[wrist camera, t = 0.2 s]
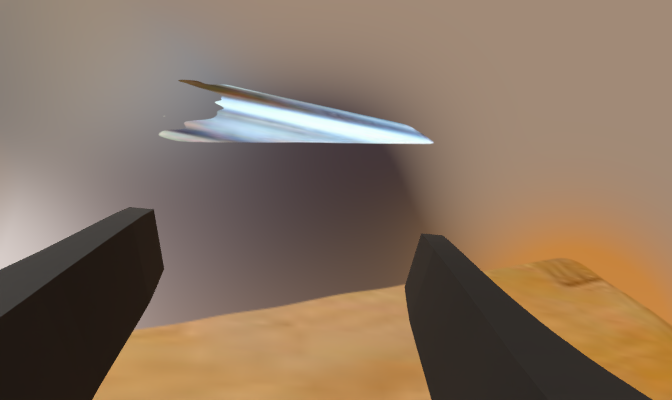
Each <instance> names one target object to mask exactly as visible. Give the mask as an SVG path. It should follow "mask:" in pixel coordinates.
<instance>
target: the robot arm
mask: <svg viewBox="0 0 672 400" xmlns="http://www.w3.org/2000/svg"><path fill="white" fill-rule="evenodd" d="M163 270H164V266H163V260H162V254H161V249H160V243H159V237H158V231H157V226H156V220H155V214H154V210H153V209H143V208H132V207H129V208H127V209H124V210H122V211H120V212H117V213H115V214H113V215H111V216H109V217H107V218H105V219H103V220H101V221H99V222H97V223H95V224H93V225H91V226H89V227H87V228H85V229H83V230H81V231H80V232H77V233H75V234H74V235H71V236H69V237H67V238H65V239H63V240H61V241H59V242H57V243H55V244H53V245H51V246H50V247H48V248H46V249H44V250H41V251H40V252H37V253H35V254H33V255H31V256H29V257H27V258H25V259H22V260H20V261H18V262H16V263H14V264H12V265H9V266H7V267H5V268H3V269H1V270H0V400H92V399H93V397H94V395H95V394H96V392H97V390H98V388H99V386H100V385H101V383H102V381H103V380H104V378H105V376H106V375H107V373H108V371H109V370H110V368H111V366H112V365H113V363H114V361H115V360H116V358H117V356H118V355H119V353H120V351H121V350H122V348H123V346H124V345H125V343H126V341H127V340H128V338H129V337H130V335H131V333H132V332H133V330H134V328H135V327H136V325H137V323H138V321H139V320H140V318H141V316H142V315H143V313H144V311H145V309H146V308H147V306H148V304H149V303H150V300H151V298H152V296H153V294H154V292H155V289H156V287H157V284H158V282H159V280H160V277H161V275H162V272H163ZM405 293H406V301H407V308H408V314H409V320H410V324H411V328H412V332H413V335H414V339H415V343H416V346H417V350H418V353H419V357H420V360H421V364H422V367H423V371H424V374H425V378H426V381H427V385H428V389H429V392H430V396H431V399H432V400H652V399H650V398H649V397H647V396H646V395H644V394H643V393H641V392H639V391H638V390H636V389H635V388H633V387H632V386H630V385H629V384H627V383H626V382H624V381H623V380H621V379H619V378H618V377H616V376H615V375H613V374H612V373H610V372H609V371H607V370H606V369H604V368H603V367H601V366H600V365H598V364H597V363H595V362H594V361H593V360H591V359H590V358H588V357H587V356H585V355H584V354H583V353H581V352H580V351H579V350H577V349H576V348H574V347H573V346H572V345H570V344H569V343H568V342H566V341H565V340H563V339H562V338H561V337H559V336H558V335H557V334H555V333H554V332H553V331H551V330H550V329H549V328H548V327H546V326H545V325H544V324H542V323H541V322H540V321H539V320H537V319H536V318H535V317H534V316H533V315H531V314H530V313H529V312H528V311H527V310H525V309H524V308H523V307H522V306H520V305H519V304H518V303H517V302H516V301H515V300H513V299H512V298H511V297H510V296H509V295H508V294H506V293H505V292H504V291H503V290H502V289H501V288H500V287H499V286H497V285H496V284H495V283H494V282H493V281H492V280H491V279H490V278H489V277H488V276H486V275H485V274H484V273H483V272H482V271H481V270H480V269H479V268H478V267H477V266H476V265H474V263H472V262H471V261H470V260H469V259H468V258H467V257H466V256H465V255H464V254H463V253H462V252H461V251H459V249H457V248H456V247H455V246H454V245H453V244H452V243H451V242H450V241H449V240H447V239H446V238H445V237H444V236H442V235H431V234H421V236H420V239H419V243H418V246H417V249H416V252H415V256H414V259H413V262H412V265H411V269H410V272H409V275H408V278H407V281H406V285H405Z"/></svg>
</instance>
